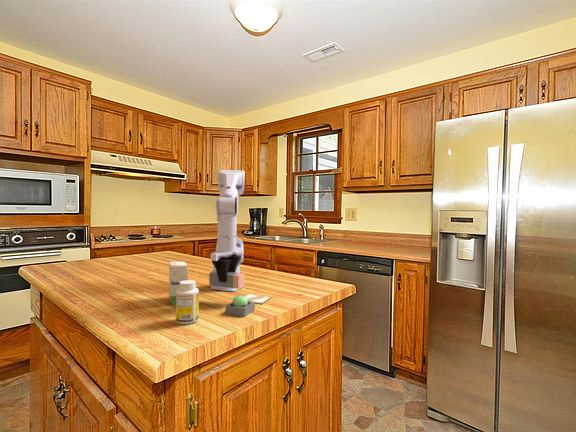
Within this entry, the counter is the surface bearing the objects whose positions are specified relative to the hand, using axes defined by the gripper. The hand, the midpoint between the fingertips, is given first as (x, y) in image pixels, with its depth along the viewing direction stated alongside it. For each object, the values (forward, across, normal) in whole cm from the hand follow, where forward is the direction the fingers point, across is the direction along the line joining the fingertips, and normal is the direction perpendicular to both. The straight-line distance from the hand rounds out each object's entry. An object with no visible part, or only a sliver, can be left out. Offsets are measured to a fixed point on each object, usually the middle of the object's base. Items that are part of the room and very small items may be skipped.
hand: (226, 280), depth 95 cm
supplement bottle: (+7, -17, +1) cm, 18 cm away
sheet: (+7, +6, -7) cm, 11 cm away
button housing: (+7, -6, -8) cm, 12 cm away
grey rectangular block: (+2, 0, 0) cm, 2 cm away
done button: (+6, -6, -8) cm, 11 cm away
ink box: (+7, -4, +15) cm, 17 cm away
